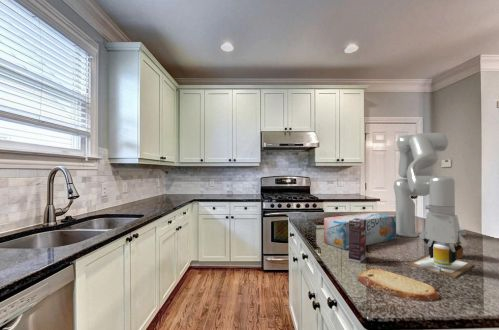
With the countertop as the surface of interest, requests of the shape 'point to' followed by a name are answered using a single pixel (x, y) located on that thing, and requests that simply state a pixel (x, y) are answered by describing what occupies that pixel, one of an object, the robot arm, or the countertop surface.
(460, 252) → the disposable coffee cup
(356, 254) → the supplement box
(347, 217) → the soda box
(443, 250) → the supplement bottle
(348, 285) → the countertop surface
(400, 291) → the bread slice
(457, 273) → the clipboard
